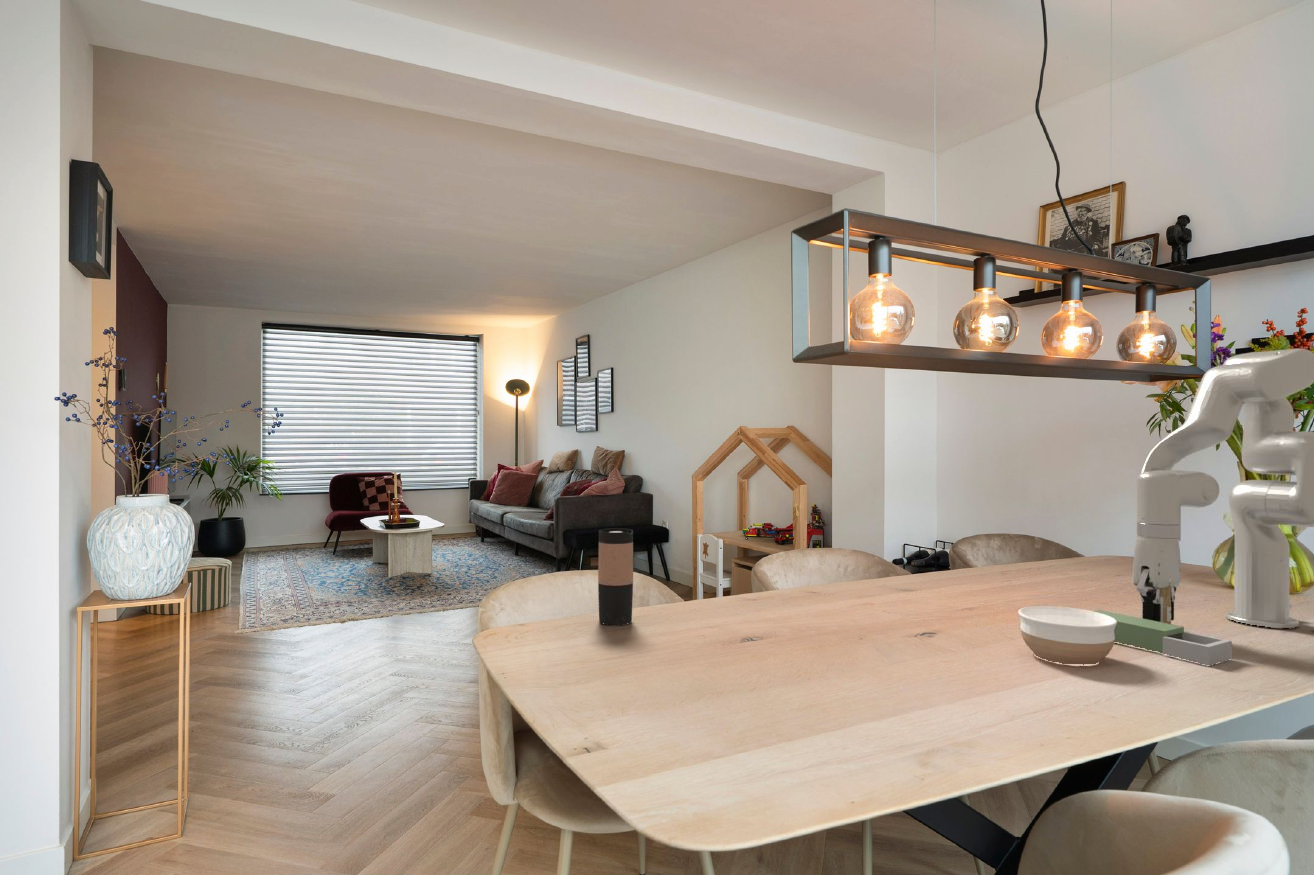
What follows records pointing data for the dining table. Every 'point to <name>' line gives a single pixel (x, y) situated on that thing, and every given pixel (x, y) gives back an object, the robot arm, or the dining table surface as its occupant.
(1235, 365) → the robot arm
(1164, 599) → the sprinkles bottle
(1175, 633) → the sliding drawer box
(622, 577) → the travel mug
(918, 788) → the dining table surface
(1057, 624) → the bowl
